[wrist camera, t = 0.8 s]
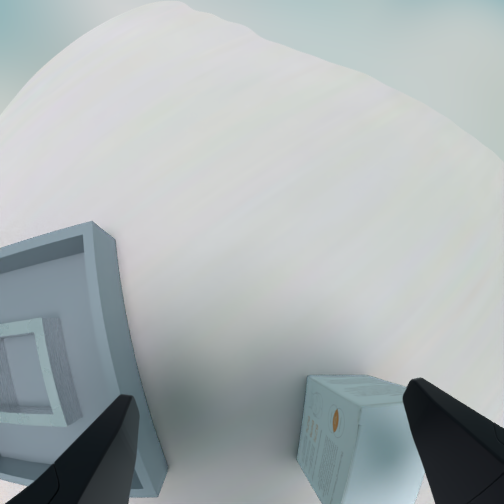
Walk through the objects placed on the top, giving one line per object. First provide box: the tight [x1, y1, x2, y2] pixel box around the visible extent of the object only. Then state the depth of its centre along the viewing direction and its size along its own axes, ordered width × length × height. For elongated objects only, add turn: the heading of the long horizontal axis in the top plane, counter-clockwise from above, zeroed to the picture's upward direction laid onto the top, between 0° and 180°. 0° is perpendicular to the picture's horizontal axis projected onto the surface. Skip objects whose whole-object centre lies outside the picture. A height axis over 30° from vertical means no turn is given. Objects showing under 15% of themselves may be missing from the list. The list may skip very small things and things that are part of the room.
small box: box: [297, 375, 425, 504], centre depth 17 cm, size 8×6×10 cm
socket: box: [0, 317, 83, 427], centre depth 18 cm, size 8×8×3 cm
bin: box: [0, 221, 169, 497], centre depth 18 cm, size 20×20×5 cm
